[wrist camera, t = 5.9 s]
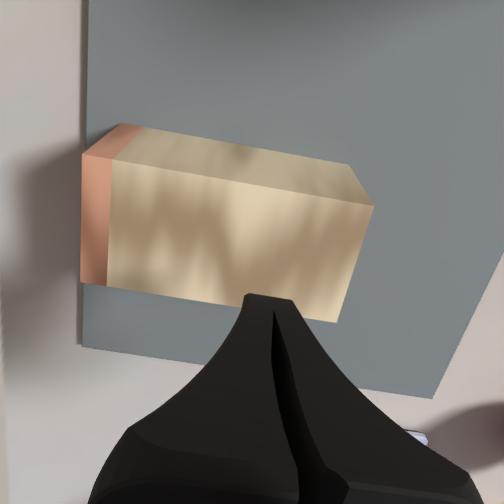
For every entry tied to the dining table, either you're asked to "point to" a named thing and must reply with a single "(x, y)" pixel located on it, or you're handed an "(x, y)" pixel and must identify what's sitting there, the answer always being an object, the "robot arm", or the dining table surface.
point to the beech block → (219, 221)
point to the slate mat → (325, 157)
